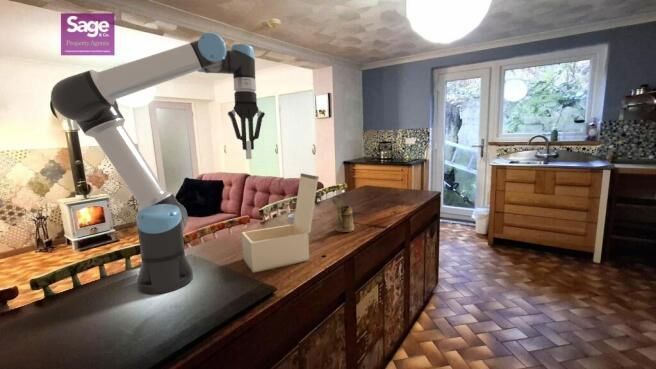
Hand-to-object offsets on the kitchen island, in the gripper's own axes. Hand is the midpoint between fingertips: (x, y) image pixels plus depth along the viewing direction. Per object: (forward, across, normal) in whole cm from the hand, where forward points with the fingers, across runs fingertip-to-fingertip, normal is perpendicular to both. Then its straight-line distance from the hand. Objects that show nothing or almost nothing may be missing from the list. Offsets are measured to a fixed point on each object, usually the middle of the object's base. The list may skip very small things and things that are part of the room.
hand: (248, 158), depth 112 cm
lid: (+16, +18, -9) cm, 25 cm away
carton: (+36, +6, -9) cm, 38 cm away
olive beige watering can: (+36, +43, +9) cm, 57 cm away
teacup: (+36, +28, +22) cm, 50 cm away
